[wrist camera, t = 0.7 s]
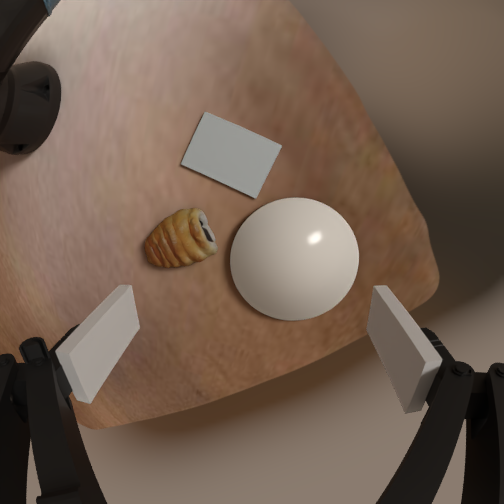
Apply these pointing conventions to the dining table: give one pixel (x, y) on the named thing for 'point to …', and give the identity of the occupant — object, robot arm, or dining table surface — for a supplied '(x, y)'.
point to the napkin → (231, 154)
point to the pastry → (181, 240)
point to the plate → (294, 259)
